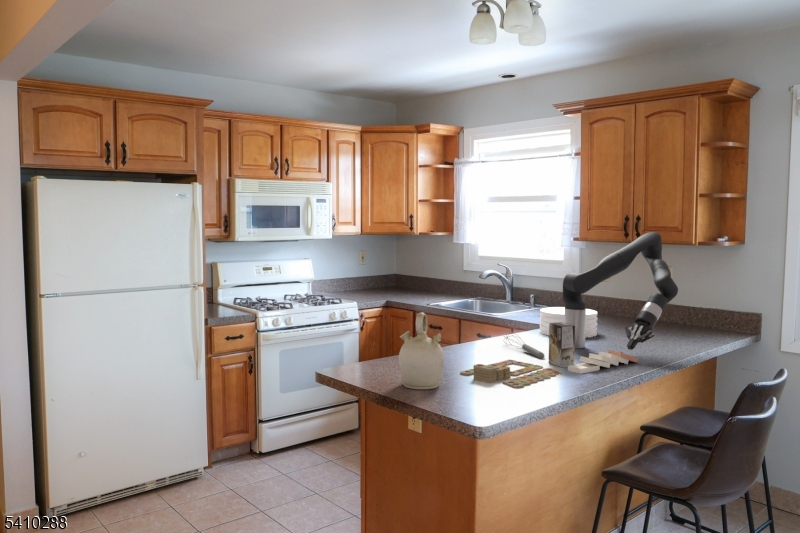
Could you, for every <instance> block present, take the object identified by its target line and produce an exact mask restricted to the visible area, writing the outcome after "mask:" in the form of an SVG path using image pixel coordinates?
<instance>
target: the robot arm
mask: <svg viewBox="0 0 800 533" xmlns="http://www.w3.org/2000/svg"><path fill="white" fill-rule="evenodd" d="M662 252H663V240H662V236H661V234H660V233H658V232H655V231H650V232H649V231H648V232H646V233H644V234H642V235H641V236H639V237H638V238H636V239H635V240H633V241H632V242H630V243H629V244H627V245H625V246H623V247H622V248H620V249H619V250H616V251H614V252H612V253H610V254H608V255H607V256H604V257H603V258H602V259H601V260H600V261H599V262H598V264H597V265H596V266H594V267H593V268H591V269H590V270H588V271H585V272H581V273H579V272H569V273H567V274H566V275H565V276H564V277H563V280H562V301H563V304H564V307H565V313H564V323H567V324H571V325H575V349H583V348H585V347H586V338H585V322H586V309H587V303H586V302H585V301H584V299H583V298H582V295H583V294H585V293H587V292H589V291H590V290H592V289H593V288H594V287H596V286H598V285H599V284H600V283H602V282H604V281H606V280H608V279H610V278H612V277H615V276H616V275H618V274H619V273H621V272H623V271H625V270H626V269H628V268H629V267H630V265H631V264H632V263H633V262H634V260H635V259H636V258H637V256H638V255H639V254H640V253H641V255H642V256H643V258H644V260H645V261H646V262H647V263H648V265H649V267H650V270H651V273H652V276H653V283H654V286H655V287H656V289H657V291H659V293H658V292H654V293H652V294H651V295H650V296H649V298H648V299H647V301H646V302H645V304H644V305H643V307H642V308H641V309H640V311H639V313H638V314H637V316H636V317H635V321H634V323H633V324H632V325H631V326H630V327H628V326H626V327H625V328H624V330H625V335H626V338H627V339H628V340H629V341H628V343H627V344H626V347H627V349H628V350H630V351H633V350H634V349H635V348H636V346H637V345H638V344H639V343H641V344H643V343H644V342H647V341H648V340H650V339H651V338H654V337H655V334H654V333H653V331H652V330H653V329H654V327H655V325H656V324H657V322H658V320H659V318H660V317H661V315H662V313H663V310H664V309H665V307H666V305H668V304H669V303H670V302H671V301H672V300H673V299H675V297H677V295H678V292H679V287H678V286H677V284H676V283H675V281H674V279H673V278H672V273H671V270H670V267H669V265H668V263H667V262H666V261H665V260H663V257H662Z"/></svg>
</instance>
